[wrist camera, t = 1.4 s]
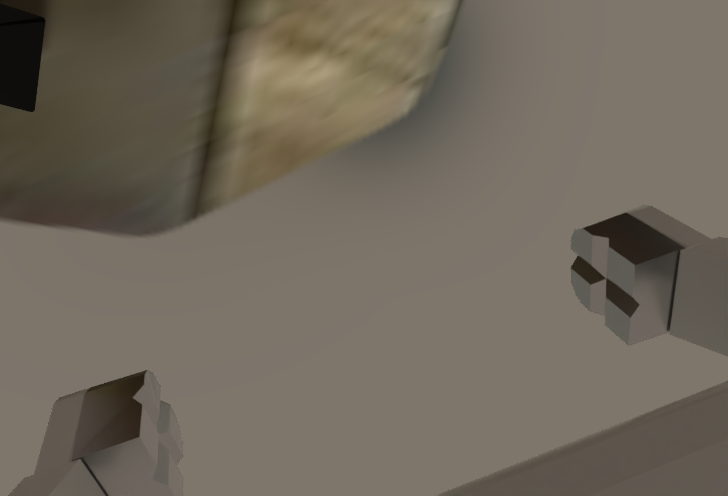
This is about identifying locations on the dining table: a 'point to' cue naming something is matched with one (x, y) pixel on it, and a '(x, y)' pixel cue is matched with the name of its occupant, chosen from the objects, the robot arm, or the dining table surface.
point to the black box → (20, 57)
